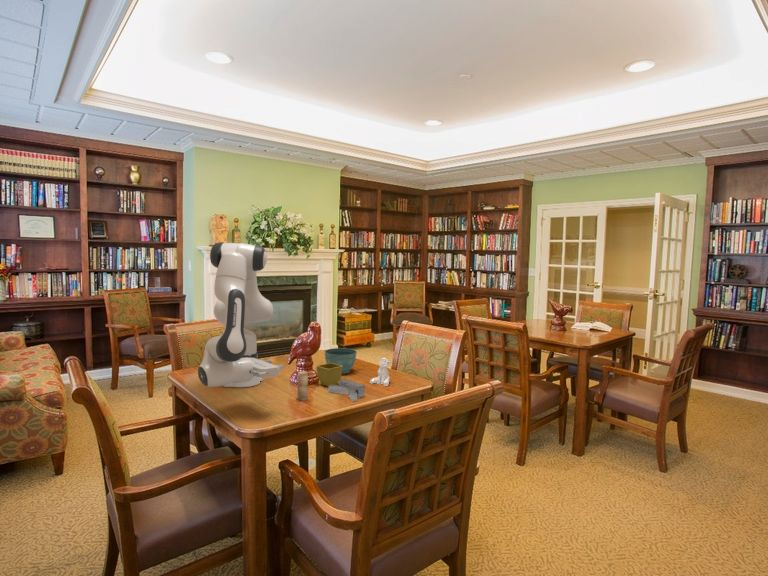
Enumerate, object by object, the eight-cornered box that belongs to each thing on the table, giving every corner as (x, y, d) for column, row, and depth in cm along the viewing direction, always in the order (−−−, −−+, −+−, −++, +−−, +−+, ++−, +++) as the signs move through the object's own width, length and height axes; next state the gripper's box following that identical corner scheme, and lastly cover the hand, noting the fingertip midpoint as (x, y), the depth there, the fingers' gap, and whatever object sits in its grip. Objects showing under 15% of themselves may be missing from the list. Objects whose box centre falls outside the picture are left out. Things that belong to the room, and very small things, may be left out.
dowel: (295, 398, 193) (296, 372, 192) (304, 397, 195) (304, 371, 195) (301, 401, 190) (301, 374, 189) (309, 399, 192) (309, 373, 192)
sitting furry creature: (368, 383, 217) (369, 358, 217) (377, 379, 225) (378, 355, 224) (386, 387, 213) (387, 361, 212) (395, 382, 221) (395, 357, 220)
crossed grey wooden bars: (326, 391, 203) (327, 380, 203) (341, 388, 209) (342, 377, 209) (353, 401, 190) (353, 389, 190) (368, 398, 196) (368, 386, 196)
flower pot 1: (362, 372, 238) (363, 351, 237) (339, 378, 226) (339, 356, 225) (341, 366, 249) (341, 346, 248) (317, 372, 237) (318, 351, 236)
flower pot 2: (328, 388, 208) (328, 369, 207) (315, 384, 214) (315, 365, 213) (342, 385, 214) (343, 365, 214) (330, 381, 220) (330, 362, 220)
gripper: (257, 366, 166) (291, 361, 175) (231, 356, 181) (264, 352, 190) (257, 383, 166) (291, 377, 176) (231, 372, 181) (264, 367, 190)
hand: (276, 364), depth 183 cm, fingers open, 8 cm apart
